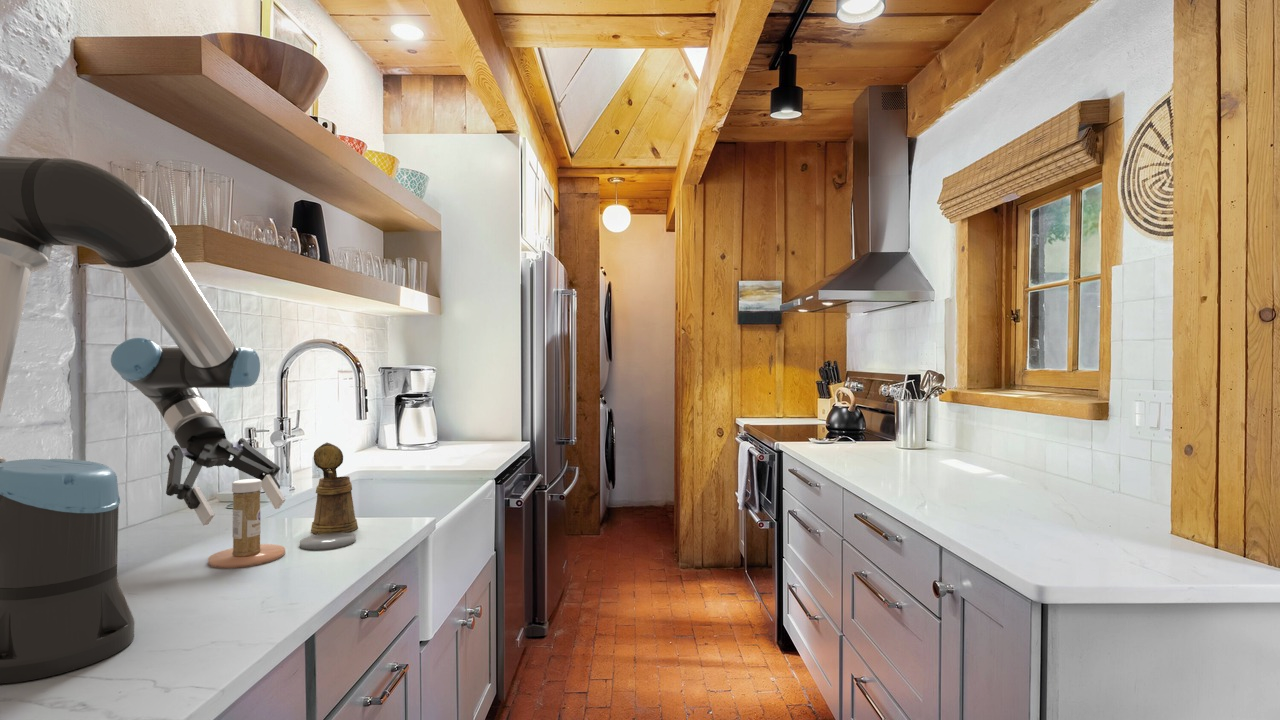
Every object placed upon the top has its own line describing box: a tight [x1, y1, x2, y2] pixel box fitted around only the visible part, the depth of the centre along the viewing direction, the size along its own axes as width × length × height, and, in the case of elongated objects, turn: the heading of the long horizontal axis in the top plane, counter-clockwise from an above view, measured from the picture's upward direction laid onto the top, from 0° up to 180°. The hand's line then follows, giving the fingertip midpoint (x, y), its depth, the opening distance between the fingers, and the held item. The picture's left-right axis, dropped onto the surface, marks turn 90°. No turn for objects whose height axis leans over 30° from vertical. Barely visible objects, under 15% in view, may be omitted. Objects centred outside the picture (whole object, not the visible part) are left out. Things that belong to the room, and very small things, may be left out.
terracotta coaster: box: [207, 543, 286, 569], centre depth 116 cm, size 12×12×1 cm
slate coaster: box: [299, 532, 357, 551], centre depth 126 cm, size 10×10×1 cm
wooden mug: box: [310, 442, 359, 535], centre depth 138 cm, size 9×14×18 cm, turn 37°
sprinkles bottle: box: [231, 478, 262, 557], centre depth 116 cm, size 5×5×14 cm
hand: (246, 512), depth 117 cm, fingers open, 13 cm apart
